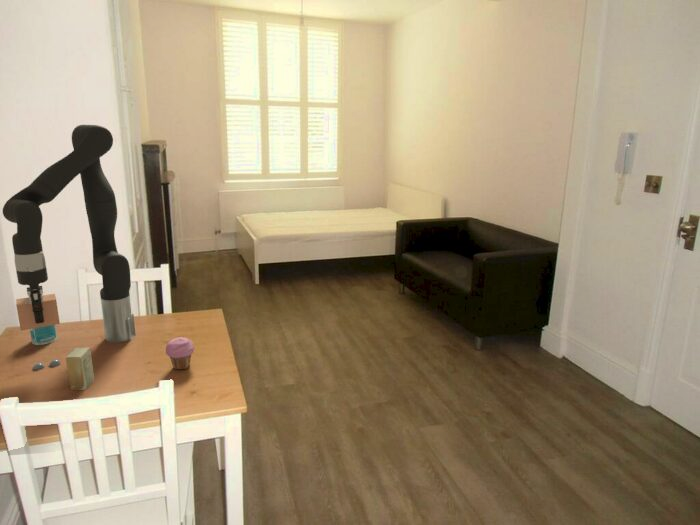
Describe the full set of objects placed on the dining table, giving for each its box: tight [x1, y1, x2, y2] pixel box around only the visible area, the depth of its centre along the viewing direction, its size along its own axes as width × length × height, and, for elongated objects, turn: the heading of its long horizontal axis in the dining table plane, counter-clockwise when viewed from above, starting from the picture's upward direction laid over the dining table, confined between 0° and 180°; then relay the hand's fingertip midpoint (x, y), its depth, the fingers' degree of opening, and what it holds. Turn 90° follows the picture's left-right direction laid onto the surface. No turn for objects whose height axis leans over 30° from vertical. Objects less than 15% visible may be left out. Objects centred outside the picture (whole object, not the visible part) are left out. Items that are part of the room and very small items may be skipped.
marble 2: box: [49, 359, 61, 368], centre depth 150 cm, size 3×3×3 cm
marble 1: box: [32, 362, 45, 371], centre depth 148 cm, size 3×3×3 cm
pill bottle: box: [29, 325, 57, 346], centre depth 165 cm, size 8×7×14 cm
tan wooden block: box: [15, 293, 61, 331], centre depth 144 cm, size 10×6×8 cm, turn 124°
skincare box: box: [65, 347, 95, 391], centre depth 138 cm, size 6×4×12 cm
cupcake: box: [165, 336, 195, 370], centre depth 153 cm, size 9×9×10 cm
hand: (39, 318), depth 145 cm, fingers closed on tan wooden block, 6 cm apart
